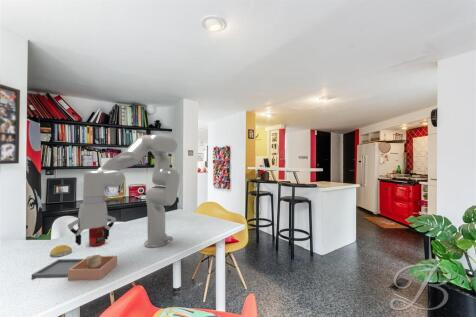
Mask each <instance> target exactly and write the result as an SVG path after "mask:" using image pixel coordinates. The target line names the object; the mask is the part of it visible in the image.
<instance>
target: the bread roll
mask: <svg viewBox="0 0 476 317" xmlns="http://www.w3.org/2000/svg"><path fill="white" fill-rule="evenodd" d="M72 250H73V249H72V247H70V246H68V245H65V244H62V245H61V244H60V245H58V246H54V247H53V248H52V249H51V250H50V253H49V254H50V256H51V257H55V258H59V257H64V256H67V255H69V254H71V252H72Z"/></svg>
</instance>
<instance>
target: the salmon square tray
mask: <svg viewBox="0 0 476 317" xmlns="http://www.w3.org/2000/svg"><path fill="white" fill-rule="evenodd" d="M90 256H91V255H89V256H87V257H85V258H83V259H84V260H82V261H81V262H79V263H78V264H76V265H75V266H73V267H72V268H70V269H69V270H68V277H67V281H96V280H97V281H101V280H102V279H103V278H104V277H105V276H106V275H108V274H109V273H110V272H111V271H112V270H113V269H114V268H115V267H116V266H117V265H118V256H117V255H101V268H100V269H87V258H88V257H90Z"/></svg>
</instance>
